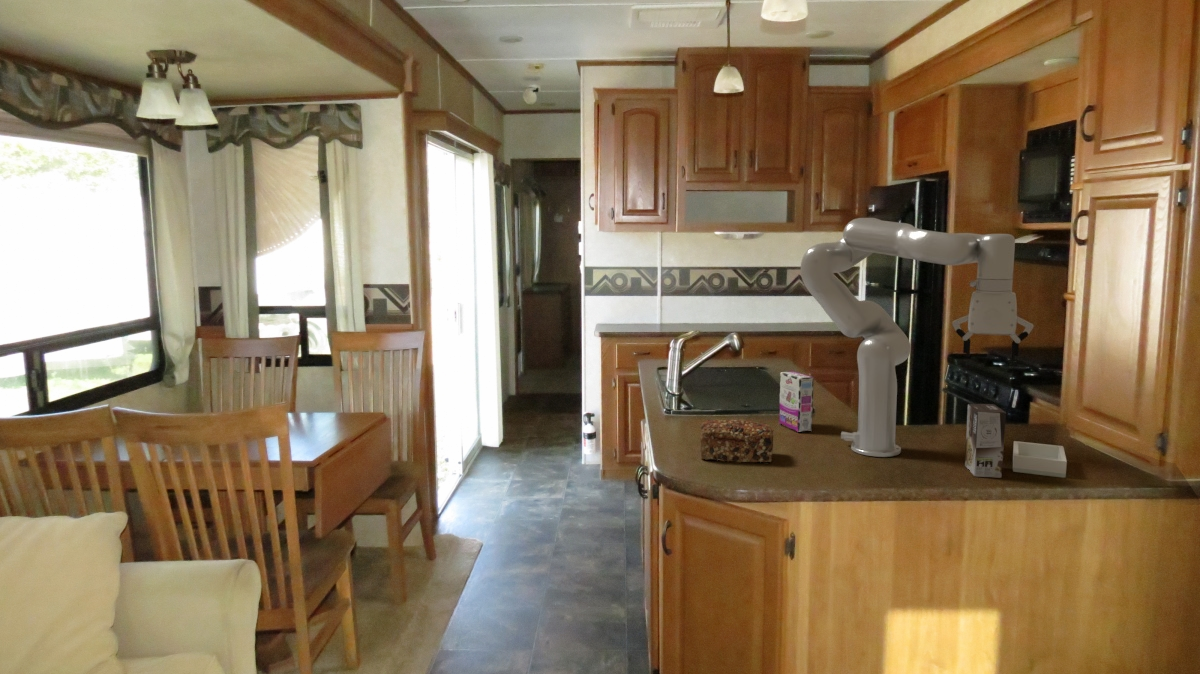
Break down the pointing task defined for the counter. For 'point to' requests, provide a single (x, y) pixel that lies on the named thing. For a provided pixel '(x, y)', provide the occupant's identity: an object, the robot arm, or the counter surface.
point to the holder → (1039, 459)
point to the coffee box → (985, 440)
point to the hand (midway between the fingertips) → (990, 357)
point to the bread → (736, 441)
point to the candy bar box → (796, 401)
